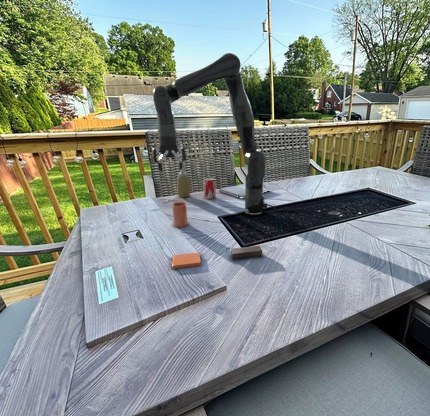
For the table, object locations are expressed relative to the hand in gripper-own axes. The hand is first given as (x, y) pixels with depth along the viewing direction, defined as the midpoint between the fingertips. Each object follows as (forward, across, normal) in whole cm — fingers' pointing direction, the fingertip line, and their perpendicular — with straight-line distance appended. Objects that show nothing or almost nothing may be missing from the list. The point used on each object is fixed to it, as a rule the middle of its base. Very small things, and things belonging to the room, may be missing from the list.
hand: (170, 170), depth 123 cm
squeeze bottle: (+22, +13, +31) cm, 40 cm away
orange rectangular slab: (+24, -7, -46) cm, 52 cm away
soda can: (+23, +26, +21) cm, 41 cm away
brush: (+24, +13, -52) cm, 59 cm away
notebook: (+23, +52, +25) cm, 62 cm away
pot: (+23, 0, -12) cm, 26 cm away
